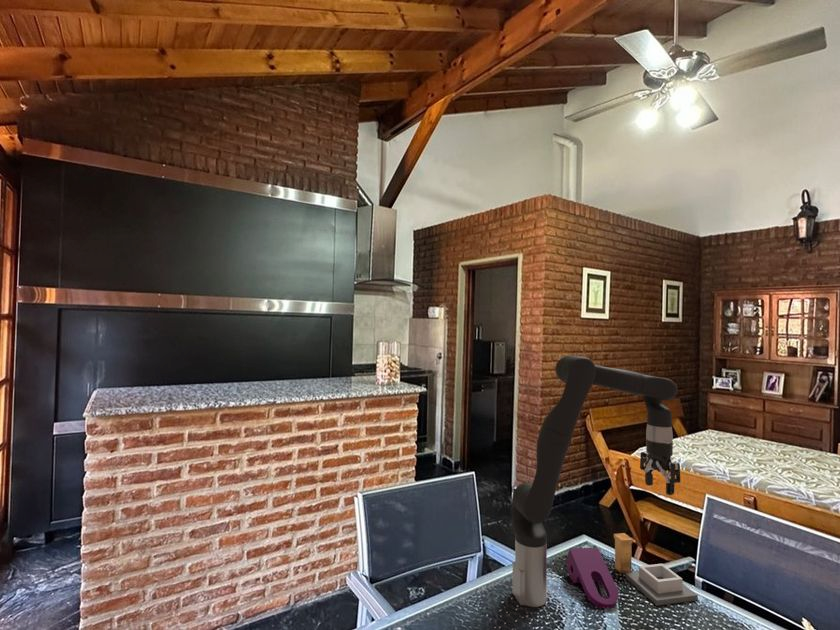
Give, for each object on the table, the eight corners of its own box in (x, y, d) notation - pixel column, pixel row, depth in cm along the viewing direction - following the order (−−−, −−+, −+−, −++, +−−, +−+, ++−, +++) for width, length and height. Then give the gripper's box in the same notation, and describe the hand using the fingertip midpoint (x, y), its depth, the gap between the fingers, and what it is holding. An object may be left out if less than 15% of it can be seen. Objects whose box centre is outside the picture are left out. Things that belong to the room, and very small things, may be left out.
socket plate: (656, 605, 127) (656, 588, 127) (625, 577, 141) (625, 562, 141) (697, 600, 130) (697, 583, 130) (663, 573, 144) (663, 558, 144)
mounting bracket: (617, 621, 129) (592, 564, 145) (624, 603, 125) (597, 547, 142) (587, 622, 128) (565, 565, 145) (593, 604, 125) (569, 548, 141)
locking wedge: (622, 574, 143) (622, 540, 143) (613, 567, 147) (613, 534, 147) (632, 573, 143) (632, 539, 144) (624, 566, 148) (624, 533, 148)
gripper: (633, 434, 147) (633, 483, 146) (667, 445, 133) (667, 499, 132) (652, 433, 148) (652, 481, 148) (687, 444, 135) (687, 497, 134)
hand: (659, 489), depth 140 cm, fingers open, 8 cm apart
